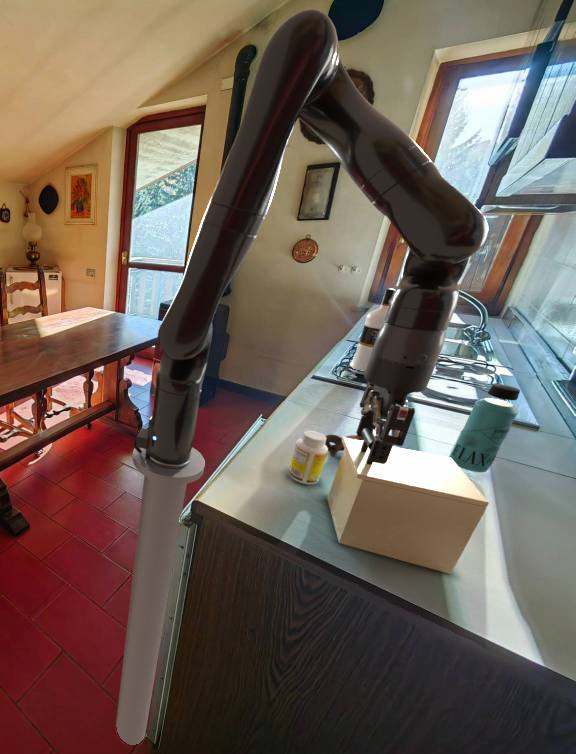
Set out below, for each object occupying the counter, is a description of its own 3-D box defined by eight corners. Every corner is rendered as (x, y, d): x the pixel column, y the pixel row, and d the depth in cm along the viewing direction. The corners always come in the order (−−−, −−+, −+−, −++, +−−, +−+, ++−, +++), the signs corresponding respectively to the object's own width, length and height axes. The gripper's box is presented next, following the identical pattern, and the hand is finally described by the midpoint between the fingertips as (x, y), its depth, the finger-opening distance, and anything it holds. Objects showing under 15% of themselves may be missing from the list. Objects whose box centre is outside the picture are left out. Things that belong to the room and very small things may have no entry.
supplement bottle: (318, 475, 83) (331, 433, 79) (317, 489, 78) (331, 445, 74) (288, 467, 85) (300, 426, 81) (286, 479, 81) (298, 437, 77)
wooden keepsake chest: (338, 543, 65) (362, 479, 60) (327, 498, 76) (346, 441, 71) (450, 574, 59) (486, 507, 55) (421, 521, 70) (449, 461, 65)
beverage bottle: (438, 464, 87) (475, 382, 79) (456, 459, 89) (494, 378, 81) (474, 481, 81) (519, 394, 74) (493, 475, 84) (538, 390, 76)
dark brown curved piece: (366, 456, 91) (392, 439, 84) (367, 490, 85) (395, 475, 79) (313, 435, 93) (334, 417, 87) (310, 468, 88) (333, 451, 81)
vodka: (365, 367, 147) (392, 286, 135) (385, 376, 138) (416, 291, 127) (342, 367, 146) (367, 286, 135) (360, 376, 138) (389, 291, 126)
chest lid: (356, 478, 60) (366, 449, 58) (341, 440, 71) (349, 415, 69) (487, 507, 55) (503, 476, 53) (449, 461, 65) (462, 434, 63)
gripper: (362, 339, 65) (335, 425, 71) (386, 365, 53) (351, 465, 59) (418, 345, 62) (385, 434, 68) (457, 374, 50) (412, 478, 56)
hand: (369, 448), depth 64 cm, fingers open, 8 cm apart
